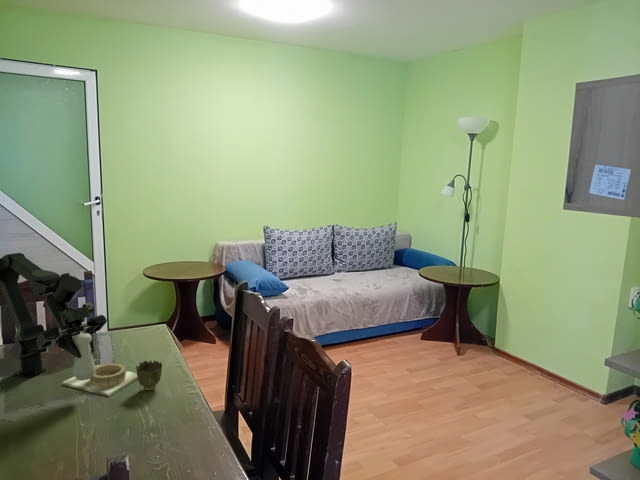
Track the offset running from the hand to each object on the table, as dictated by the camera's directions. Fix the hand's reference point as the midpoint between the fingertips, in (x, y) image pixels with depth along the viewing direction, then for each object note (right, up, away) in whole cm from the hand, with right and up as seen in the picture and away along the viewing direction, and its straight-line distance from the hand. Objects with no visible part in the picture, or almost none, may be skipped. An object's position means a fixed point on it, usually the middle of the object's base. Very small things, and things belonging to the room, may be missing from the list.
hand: (86, 355), depth 133 cm
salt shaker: (-2, -7, +2) cm, 7 cm away
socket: (-1, -11, +13) cm, 17 cm away
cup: (+15, -13, +9) cm, 22 cm away
